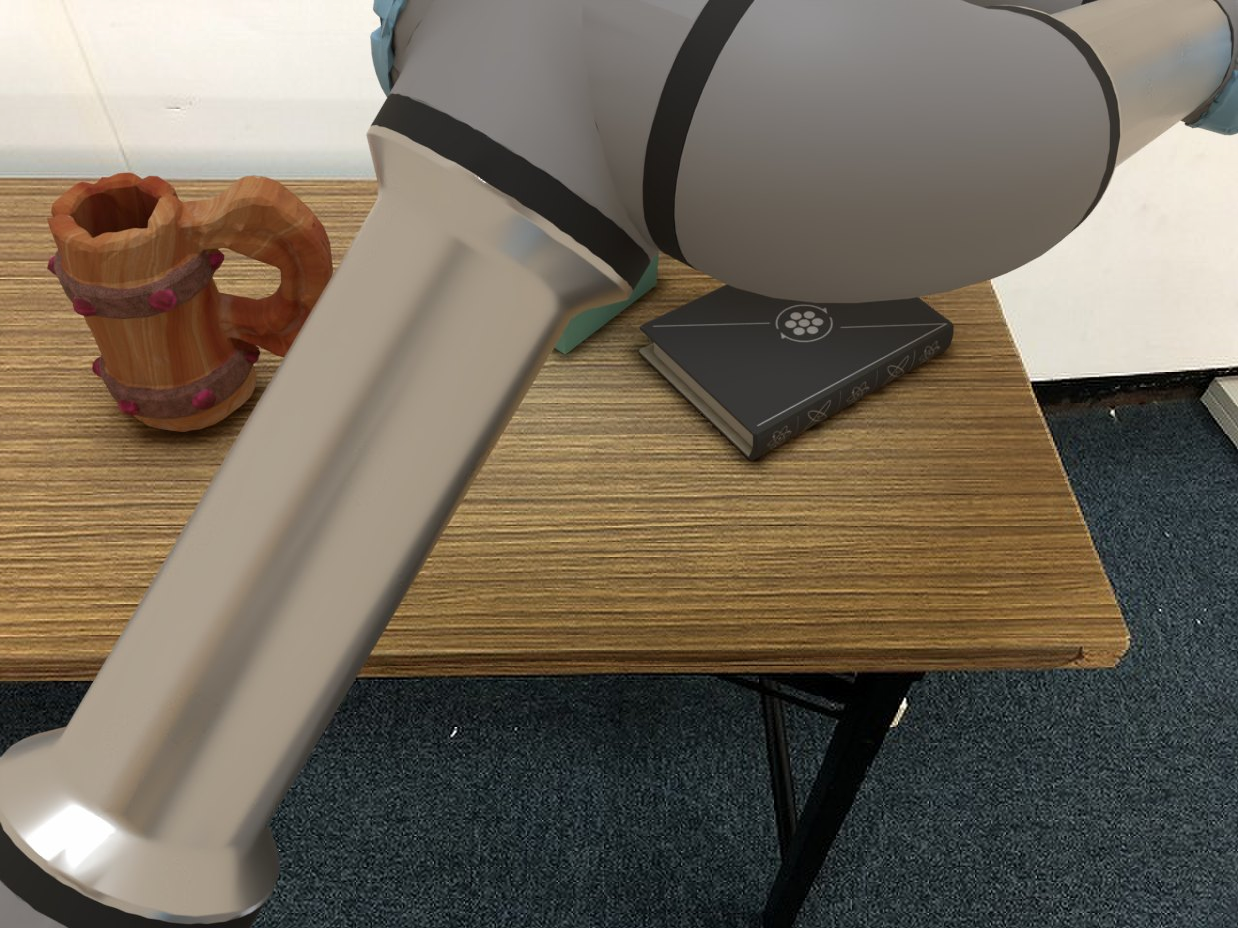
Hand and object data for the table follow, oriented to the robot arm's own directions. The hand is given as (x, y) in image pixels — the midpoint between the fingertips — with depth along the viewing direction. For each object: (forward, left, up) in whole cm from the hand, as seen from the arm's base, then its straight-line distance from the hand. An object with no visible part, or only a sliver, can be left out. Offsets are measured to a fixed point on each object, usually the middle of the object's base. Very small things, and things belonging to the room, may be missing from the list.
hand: (491, 64), depth 80 cm
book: (+10, -23, -21) cm, 33 cm away
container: (+3, -3, -21) cm, 22 cm away
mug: (-24, +7, -21) cm, 33 cm away
